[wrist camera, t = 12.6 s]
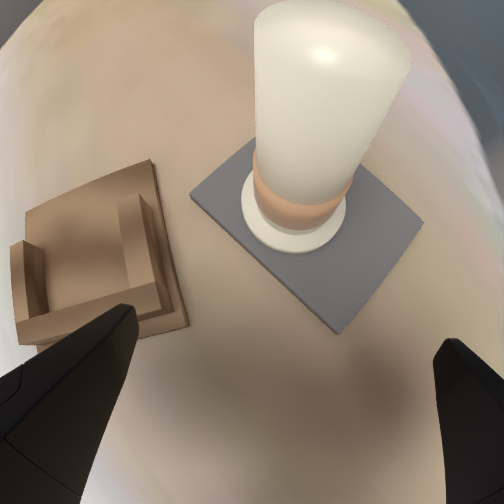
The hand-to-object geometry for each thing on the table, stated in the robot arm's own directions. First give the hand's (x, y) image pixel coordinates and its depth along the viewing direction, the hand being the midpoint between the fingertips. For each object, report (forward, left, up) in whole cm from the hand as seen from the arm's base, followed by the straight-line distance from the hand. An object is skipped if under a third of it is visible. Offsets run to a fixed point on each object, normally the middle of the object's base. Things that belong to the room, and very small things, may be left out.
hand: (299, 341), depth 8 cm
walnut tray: (+13, +5, -11) cm, 17 cm away
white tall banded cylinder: (+5, -7, -10) cm, 13 cm away
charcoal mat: (+4, -8, -11) cm, 14 cm away
